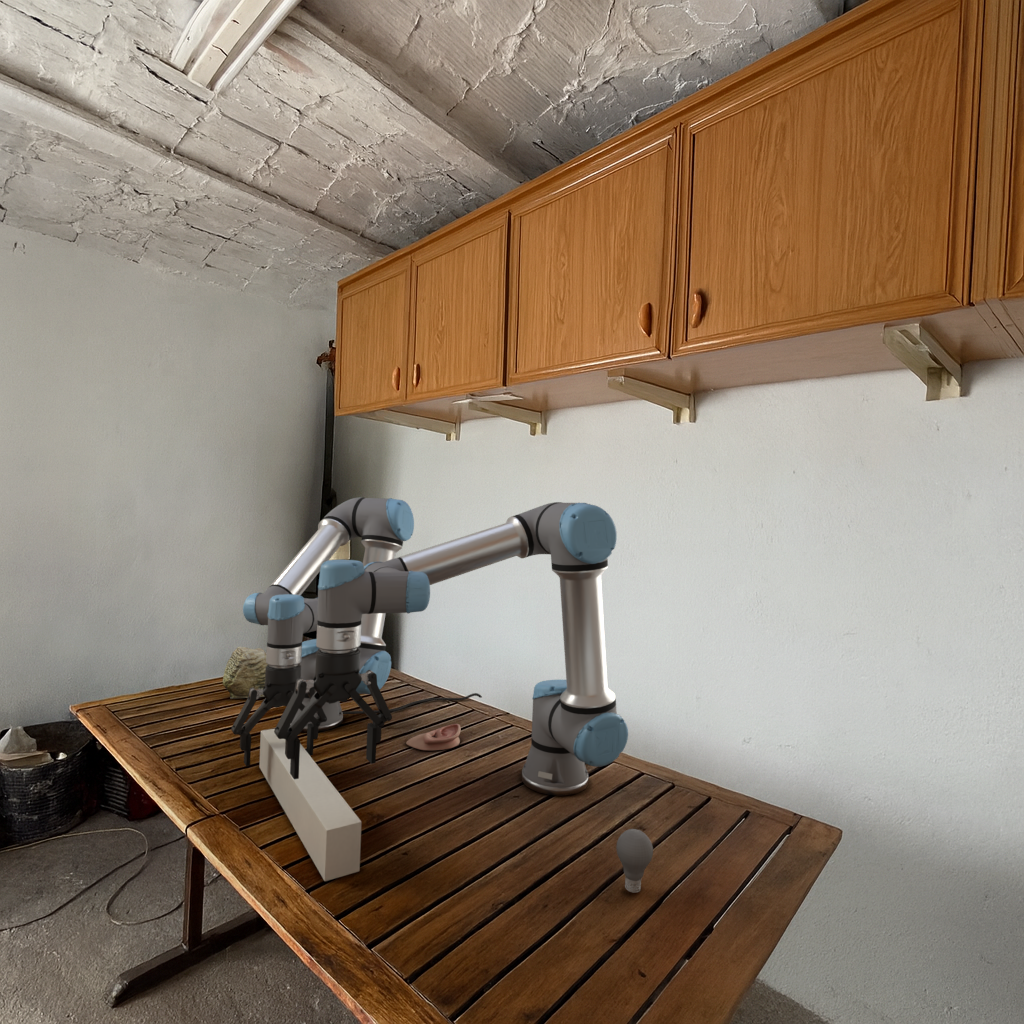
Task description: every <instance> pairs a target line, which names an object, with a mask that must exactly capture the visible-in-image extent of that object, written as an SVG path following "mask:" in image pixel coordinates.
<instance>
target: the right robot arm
mask: <svg viewBox="0 0 1024 1024" xmlns="http://www.w3.org/2000/svg"><path fill="white" fill-rule="evenodd" d="M617 540H618V532H617V527H616V524H615V521H614V520H613V518H612V517H611V515H610V513H608V512H607V511H606V510H605V509H603V508H602V507H601V506H598V505H596V504H591V503H587V502H562V501H556V502H549V503H546V504H543V505H539V506H537V507H534V508H531V509H528V510H525V511H524V512H521V513H518V514H515V515H512V516H509V517H508V518H507V520H506V522H505V523H502V524H499V525H495V526H492V527H489V528H486V529H483V530H480V531H476V532H474V533H471V534H467V535H465V536H464V535H463V536H460V537H458V538H455V539H451V540H449V541H445V542H442V543H438V544H435V545H432V546H430V547H426V548H423V549H420V550H417V551H414V552H411V553H407V554H404V555H401V556H398V557H395V559H391V560H388V561H385V562H371V563H369V564H367V565H365V566H364V565H363V561H360V560H355V559H329V560H328V561H325V562H324V563H323V564H322V565H321V568H320V572H319V579H318V585H317V597H318V621H317V630H316V639H317V640H316V646H317V647H318V648H319V649H318V650H317V651H316V667H315V677H314V679H313V680H303V679H302V678H298V679H297V680H296V685H295V691H294V693H293V695H292V697H291V699H290V701H289V703H288V705H287V706H285V709H284V711H282V714H281V716H280V718H279V720H278V722H277V724H276V726H275V728H274V729H275V730H274V733H275V734H276V736H277V737H278V738H279V739H285V755H286V757H287V758H288V759H291V762H290V774H291V776H292V777H293V779H299V758H300V744H301V739H300V738H299V737H298V736H299V735H300V734H301V733H302V732H301V731H302V730H303V728H304V727H305V726H306V725H307V723H308V722H309V721H310V720H311V718H312V717H313V716H314V715H315V713H316V712H317V711H318V710H319V708H321V707H322V706H323V705H324V704H325V703H326V702H327V703H329V704H331V703H335V702H338V701H339V702H340V703H342V702H343V703H344V702H345V703H346V702H348V700H350V699H352V701H353V702H354V703H355V704H356V705H357V706H358V707H359V708H360V710H361V711H364V713H365V714H364V715H366V717H368V718H369V720H370V721H371V722H367V727H366V729H367V730H366V751H365V752H366V753H365V759H366V760H367V761H368V762H369V763H370V764H371V765H373V764H376V762H377V760H376V759H377V744H379V743H381V741H382V728H383V727H384V726H385V723H386V722H390V721H392V719H393V715H392V712H390V711H389V709H390V708H389V706H388V705H387V702H386V700H385V698H384V696H383V694H382V692H381V689H379V687H378V685H377V675H376V674H375V673H374V672H372V671H371V670H367V671H366V673H363V674H360V673H359V669H360V650H359V649H358V647H359V646H360V643H361V619H362V614H372V613H386V614H411V613H420V612H423V611H425V610H426V609H427V608H428V606H429V603H430V599H431V586H432V585H434V584H438V583H441V582H443V581H444V582H445V581H447V580H450V579H453V578H456V577H458V576H462V575H464V574H467V573H470V572H473V571H476V570H480V569H482V568H485V567H488V566H491V565H494V564H496V563H499V562H503V561H506V560H508V559H513V558H515V557H518V558H519V559H526V558H529V557H531V556H538V555H550V561H551V571H552V572H553V573H554V574H556V575H557V576H558V578H559V588H560V602H561V603H560V607H561V619H562V620H561V621H562V635H563V650H564V667H565V678H566V679H546V680H542V681H539V682H537V683H535V685H534V687H533V694H532V713H531V714H532V716H531V741H530V742H531V743H530V748H529V751H528V753H527V757H526V760H525V763H524V764H523V766H522V768H521V769H522V770H521V781H522V783H523V784H524V785H525V786H526V787H527V788H528V789H530V790H532V791H534V792H537V793H540V794H544V795H549V796H572V795H576V794H579V793H581V792H583V791H585V790H586V789H587V788H588V786H589V772H588V769H587V768H586V765H588V766H590V767H594V768H600V767H605V766H607V765H610V764H612V763H613V762H615V760H617V759H618V758H619V757H620V754H621V753H622V752H624V750H625V749H626V746H627V743H628V740H629V728H628V724H627V722H626V721H625V719H624V718H623V716H621V714H618V713H617V698H616V697H617V696H616V693H615V692H614V691H613V690H612V689H610V688H609V685H608V670H607V669H608V667H607V652H606V636H605V635H606V634H605V633H606V632H605V619H604V617H605V616H604V603H603V602H604V601H603V599H604V598H603V586H602V583H603V582H602V575H603V574H604V573H605V571H606V570H607V569H608V568H609V562H608V559H609V557H610V556H611V555H612V553H613V552H612V551H613V550H615V548H616V545H617ZM361 681H363V682H364V684H366V685H367V686H368V689H369V691H370V693H371V694H370V695H371V697H372V700H373V701H374V703H375V705H376V707H377V710H379V712H380V713H375V712H374V711H375V710H374V709H372V707H371V706H370V705H369V704H368V703H367V702H366V700H365V699H364V698H363V697H362V696H361V694H359V693H358V692H357V691H356V689H357V687H358V686H359V684H360V683H361ZM312 687H314V689H315V690H316V692H315V694H314V695H313V696H312V697H311V700H310V702H309V703H308V704H307V705H306V707H305V708H304V709H303V710H302V711H301V713H300V714H299V715H298V716H297V718H296V719H295V720H294V721H293V719H294V717H295V715H296V713H297V711H298V709H299V707H300V705H301V703H302V702H303V699H304V697H305V694H306V693H308V692H309V690H310V688H312ZM292 721H293V723H292ZM291 723H292V724H291Z"/></svg>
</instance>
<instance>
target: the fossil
mask: <svg viewBox="0 0 1024 1024" xmlns="http://www.w3.org/2000/svg"><path fill="white" fill-rule="evenodd" d="M267 665H268V664H267V663H266V652H265V650H264V649H263V648H260V647H258V648H251V647H247V646H246V647H245V646H238V647H237V648H236V649H235V650H233V651H232V653H231V656H230V657H229V659H228V660H227V663H226V666H225V668H224V671H223V675H222V676H223V677H222V685H223V687H224V688H225V690H226V691H228V693H229V698H230V699H248V695H249V690H250V688H252V687H253V688H255V689H263V688H264V686H265V671H266V666H267ZM259 698H265V697H264V695H260V697H259Z"/></svg>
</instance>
